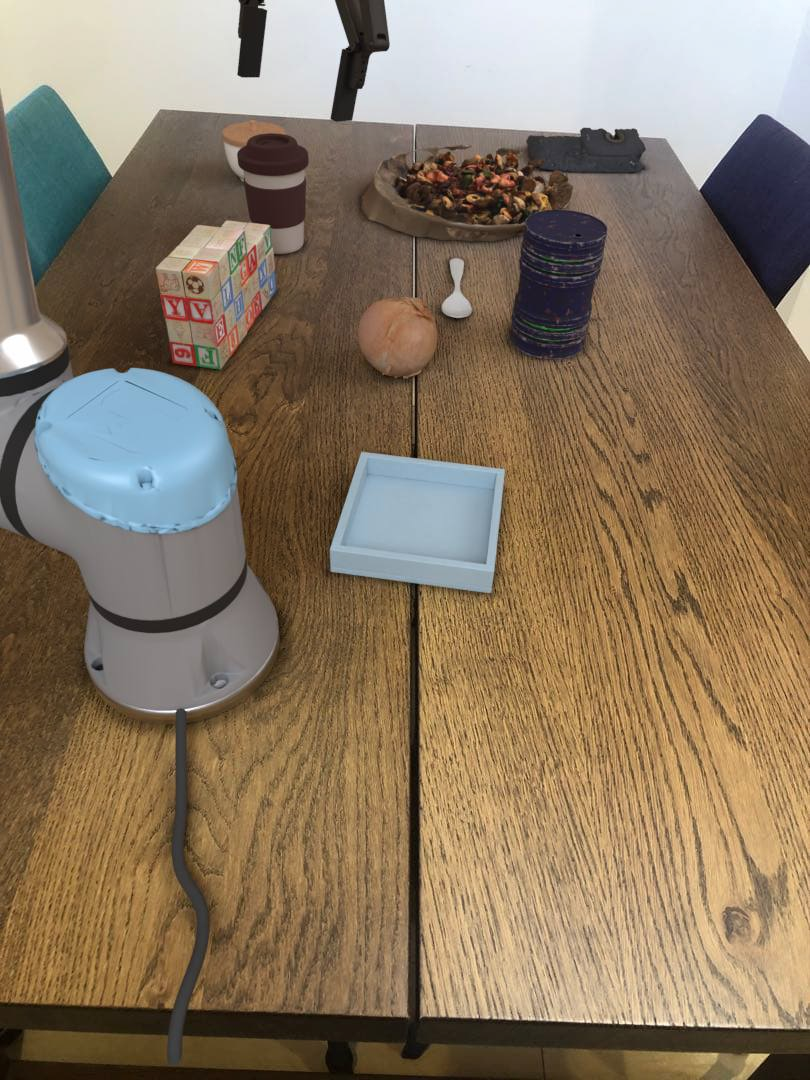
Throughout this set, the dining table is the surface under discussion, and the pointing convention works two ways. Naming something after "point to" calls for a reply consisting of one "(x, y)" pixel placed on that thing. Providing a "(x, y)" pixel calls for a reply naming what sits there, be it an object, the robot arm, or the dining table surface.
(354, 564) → the tray
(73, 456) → the robot arm
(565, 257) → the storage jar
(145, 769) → the dining table surface
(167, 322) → the stack of blocks
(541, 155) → the dark slate chunk
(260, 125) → the trinket box
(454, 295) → the spoon
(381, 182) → the food dish
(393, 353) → the onion
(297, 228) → the coffee cup
